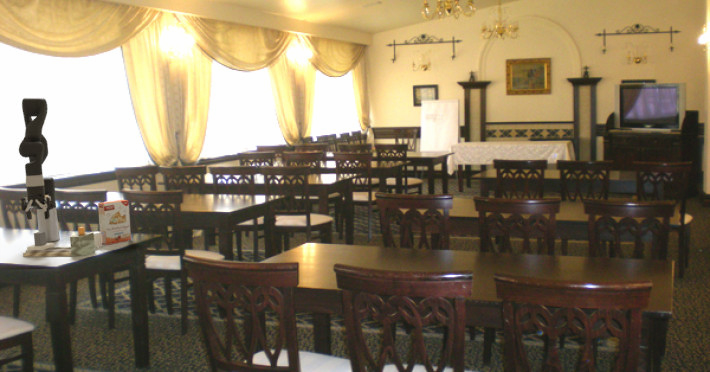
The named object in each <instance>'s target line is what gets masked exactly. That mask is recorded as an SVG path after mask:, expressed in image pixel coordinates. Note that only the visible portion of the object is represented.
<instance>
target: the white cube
mask: <svg viewBox="0 0 710 372" xmlns="http://www.w3.org/2000/svg"><path fill="white" fill-rule="evenodd" d="M88 233H94V244H95V248H100V247H102V244H101V232H100V230H99V231H98V230H97V231H89V232H88Z"/></svg>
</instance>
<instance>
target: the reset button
mask: <svg viewBox="0 0 710 372" xmlns="http://www.w3.org/2000/svg"><path fill="white" fill-rule="evenodd" d="M77 232H78V234H79V235H85V233H86V229H85V226H81V227H80V226H79V227H78V228H77Z"/></svg>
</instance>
